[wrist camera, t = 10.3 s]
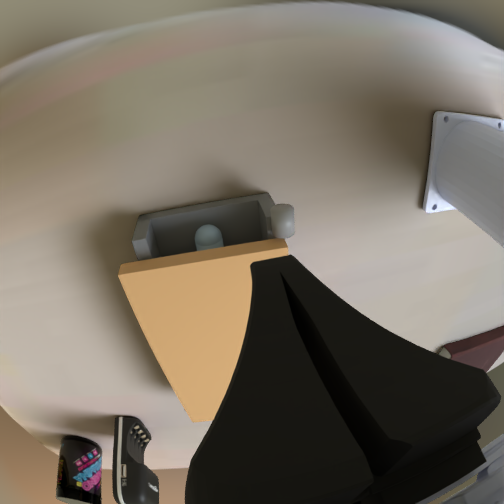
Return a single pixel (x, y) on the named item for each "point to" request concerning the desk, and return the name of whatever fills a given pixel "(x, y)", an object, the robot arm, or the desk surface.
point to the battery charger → (132, 464)
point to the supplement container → (79, 471)
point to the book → (477, 349)
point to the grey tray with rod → (212, 226)
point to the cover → (197, 316)
